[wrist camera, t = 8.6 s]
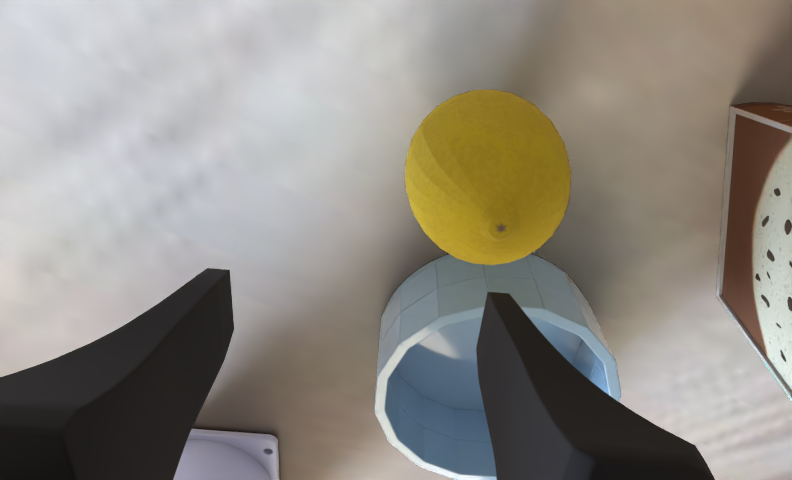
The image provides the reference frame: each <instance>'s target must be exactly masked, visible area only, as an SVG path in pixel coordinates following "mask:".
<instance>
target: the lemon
mask: <svg viewBox="0 0 792 480" xmlns="http://www.w3.org/2000/svg"><path fill="white" fill-rule="evenodd" d="M570 184H571V169H570V164H569V160H568V156H567V151H566V147H565V144H564V142H563V140H562V138H561V137H560V135H559V133H558V132H557V130H556V128H555V126H554V125H553V123H552V122H551V120H550V119H549V118H548V117H547V116H546V115H544V114H543V113H542V112H541V111H540V110H539V109H538V108H537V107H536V106H535V105H534V104H532V103H530V102H528V101H526V100H525V99H523V98H521V97H519V96H517V95H515V94H512V93H508V92H503V91H498V90H473V91H469V92H466V93H463V94H459V95H456V96H454V97H452V98H450V99H449V100H447V101H445V102H443V103H442V104H440V105H438V106H437V107H436V108H435V109H434V110H433V111H432V112H431V113H430V114H429V115H428V116H427V117H426V118H425V119H424V120H423V122H422V123H421V125H420V126H419V128H418V130H417V131H416V133H415V135H414V136H413V138H412V141H411V144H410V147H409V151H408V154H407V158H406V164H405V187H406V191H407V195H408V199H409V203H410V206H411V210H412V212H413V214H414V215H415V217H416V219H417V221H418V222H419V224H420V226H421V228H422V229H423V231H424V232H425V234H426V235H427V236H428V237H429V238H430V239H431V240H432V241H433V242H434V243H435V244H436V245H437V246H438V247H439V248H441V249H442V250H444V251H445V252H447V253H449V254H450V255H452V256H454V257H455V258H457V259H460V260H463V261H467V262H470V263H473V264H485V265H496V264H504V263H510V262H512V261H515V260H518V259H521V258H524V257H525V256H527V255H529V254H530V253H532V252H533V251H535V250H537V249H538V248H540V247H541V246H542V245H543V244H544V243H545V242H546V241H547V240H548V239H549V238H550V237H551V236H552V235H553V234H554V232H555V231H556V229H557V227H558V226H559V224H560V223H561V221H562V219H563V217H564V214H565V211H566V208H567V205H568V202H569V198H570Z"/></svg>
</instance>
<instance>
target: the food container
mask: <svg viewBox="0 0 792 480" xmlns="http://www.w3.org/2000/svg"><path fill="white" fill-rule="evenodd" d="M716 297H717V298H718V300H719V301H720V303H721V304H722V305H723V307H724V308H725V309H726V311H727V312H728V314H729V315H730V316H731V318H732V319H733V321H734V322H735V323H736V325H737V326H738V328H739V329H740V330H741V332H742V333H743V334H744V336H745V337H746V339H747V340H748V341H749V343H750V344H751V346H752V347H753V348H754V350H755V351H756V353H757V354H758V355H759V357H760V358H761V359H762V361H763V362H764V364H765V365H766V366H767V368H768V369H769V371H770V372H771V373H772V375H773V376H774V378H775V379H776V380H777V382H778V383H779V384H780V386H781V387H782V389H783V390H784V391H785V393H786V394H787V396H788V397H789V398H790V400H791V401H792V106H789V105H783V104H777V103H753V102H752V103H745V104H738V105H731V106H730V109H729V123H728V137H727V151H726V165H725V179H724V193H723V207H722V221H721V235H720V248H719V262H718V276H717V290H716Z"/></svg>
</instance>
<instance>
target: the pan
mask: <svg viewBox="0 0 792 480" xmlns="http://www.w3.org/2000/svg"><path fill="white" fill-rule="evenodd" d="M487 292H498V293H509V294H510V295H511V296H512V297H513V299H514V300H515V301H516V302H517V304H518V305H519V306H520V307H521V309H522V310H523V311H524V312H525V314H526V315H527V316H528V317H529V319H530V320H531V321H532V322H533V324H534V325H535V326H536V327H537V328H538V330H539V331H540V332H541V333H542V334H543V335H544V336H545V338H546V339H547V340H548V341H549V342H550V343H551V344H552V345H553V346H554V347H555V348H556V349H557V350H558V351H559V352H560V353H561V354H562V355H563V356H564V357H565V358H566V359H567V360H568V361H569V362H570V363H571V364H572V365H573V366H574V367H575V368H576V369H577V370H578V371H580V372H581V373H582V374H583V375H584V376H585V377H587V378H588V379H589V380H590V381H591V382H593V383H594V384H595V385H596V386H598V387H599V388H600V389H601V390H603V391H604V392H605V393H607V394H608V395H610V396H611V397H612V398H614V399H615V400H617V401H618V402H619V400H620V397H621V389H620V383H619V377H618V372H617V366H616V360H615V358H614V356H613V354H612V351H611V349H610V347H609V345H608V343H607V341H606V339H605V337H604V335H603V333H602V330H601V328H600V326H599V324H598V322H597V320H596V318H595V316H594V314H593V311H592V309H591V307H590V305H589V303H588V301H587V299H586V298H585V297H584V296H583V295H582V293H581V292H580V290H579V289H578V287H577V286H576V284H575V283H574V282H573V281H572V280H571V279H570V278H569V277H568V276H567V274H566V273H564V272H563V271H562V270H560V269H559V268H558V267H556V266H555V265H553V264H552V263H550V262H548V261H546V260H545V259H543V258H540V257H538V256H535V255H533V254H529V255H527V256H525V257H524V258H521V259H518V260H515V261H512V262H510V263H504V264H496V265H485V264H473V263H470V262H467V261H463V260H460V259H457V258H455V257H454V256H452V255H450V254H448V255H445V256H443V257H440V258H438V259H436V260H434V261H432V262H429V263H428V264H426V265H425V266H423V267H421V268H420V269H418V270H417V271H415V272H414V273H413V274H412V275H410V276H409V277H408V278H407V279H406V280H405V281H404V282H403V283H402V284H401V285H400V286H399V287H398V288H397V290H396V291H395V293H394V294H393V295H392V297H391V298H390V300H389V302H388V304H387V306H386V308H385V311H384V314H383V316H382V318H381V326H380V339H379V351H378V364H377V377H376V389H375V402H374V412H375V414H376V417H377V419H378V421H379V423H380V425H381V427H382V429H383V431H384V433H385V436H386V438H387V440H388V442H389V443H390V444H391V445H392V446H394V447H395V448H396V449H397V450H398V451H400V452H401V453H402V454H403V455H405V456H406V457H407V458H408V459H409V460H411V461H412V462H413V463H414V464H416V465H417V466H419V467H421V468H424V469H427V470H429V471H432V472H435V473H438V474H440V475H443V476H446V477H448V478H451V479H454V480H497V477H496V467H495V460H494V454H493V448H492V443H491V438H490V433H489V429H488V424H487V419H486V415H485V410H484V405H483V400H482V395H481V390H480V385H479V380H478V369H477V354H476V347H477V342H478V337H479V332H480V327H481V322H482V317H483V312H484V307H485V302H486V297H487Z"/></svg>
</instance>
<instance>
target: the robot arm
mask: <svg viewBox="0 0 792 480" xmlns="http://www.w3.org/2000/svg"><path fill="white" fill-rule="evenodd" d="M233 330H234V322H233V309H232V296H231V282H230V270H222V269H210V268H207V269H206V270H204V271H203V272H201V273H200V274H199V275H197V276H196V277H195V278H193V279H192V280H190V281H189V282H188V283H186V284H185V285H184V286H182V287H181V288H180V289H178V290H177V291H175V292H174V293H173V294H171V295H170V296H168V297H167V298H166V299H164V300H163V301H161V302H160V303H159V304H157V305H156V306H154V307H153V308H151V309H149V310H148V311H146V312H145V313H143V314H142V315H140V316H138V317H137V318H135V319H134V320H132V321H131V322H129V323H127V324H126V325H124V326H122V327H120V328H119V329H117V330H115V331H113V332H111V333H109V334H108V335H106V336H104V337H102V338H100V339H98V340H96V341H94V342H92V343H90V344H88V345H85V346H83V347H81V348H78V349H76V350H74V351H72V352H69V353H67V354H65V355H62V356H60V357H58V358H55V359H53V360H50V361H48V362H45V363H42V364H40V365H37V366H34V367H31V368H28V369H25V370H22V371H19V372H17V373H13V374H10V375H7V376H4V377H0V480H279V455H278V440H277V438H276V437H275V436H273V435H270V434H257V433H243V432H230V431H217V430H203V429H192V427H193V425H194V423H195V420H196V418H197V416H198V414H199V412H200V410H201V408H202V406H203V404H204V402H205V400H206V398H207V395H208V393H209V391H210V389H211V387H212V385H213V383H214V381H215V379H216V377H217V374H218V372H219V370H220V368H221V366H222V364H223V362H224V359H225V356H226V353H227V350H228V347H229V344H230V340H231V337H232V334H233ZM476 354H477V369H478V380H479V385H480V390H481V395H482V400H483V405H484V410H485V415H486V419H487V424H488V429H489V433H490V438H491V443H492V448H493V454H494V460H495V467H496V477H497V480H715V479H714V477H713V475H712V473H711V471H710V469H709V467H708V466H707V464H706V462H705V460H704V459H703V457H702V456H701V454H700V452H699V451H698V449H697V448H696V446H695V445H693V444H691V443H689V442H687V441H685V440H683V439H681V438H679V437H677V436H675V435H673V434H671V433H670V432H668V431H666V430H664V429H662V428H660V427H658V426H656V425H654V424H653V423H651V422H649V421H648V420H646V419H644V418H643V417H641V416H639V415H638V414H636V413H635V412H633V411H631V410H630V409H628V408H627V407H625V406H624V405H622V404H621V403H619V402H618V401H617V400H615V399H614V398H612V397H611V396H610V395H608V394H607V393H605V392H604V391H603V390H601V389H600V388H599V387H598V386H596V385H595V384H594V383H593V382H591V381H590V380H589V379H588V378H587V377H585V376H584V375H583V374H582V373H581V372H580V371H578V370H577V369H576V368H575V367H574V366H573V365H572V364H571V363H570V362H569V361H568V360H567V359H566V358H565V357H564V356H563V355H562V354H561V353H560V352H559V351H558V350H557V349H556V348H555V347H554V346H553V345H552V344H551V343H550V342H549V341H548V340H547V339H546V338H545V336H544V335H543V334H542V333H541V332H540V331H539V330H538V328H537V327H536V326H535V325H534V324H533V322H532V321H531V320H530V319H529V317H528V316H527V315H526V314H525V312H524V311H523V310H522V309H521V307H520V306H519V305H518V304H517V302H516V301H515V300H514V299H513V297H512V296H511V295H510V294H509V293H498V292H487V297H486V302H485V307H484V312H483V317H482V322H481V327H480V332H479V337H478V342H477V347H476ZM268 448H269V449H268Z"/></svg>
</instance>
